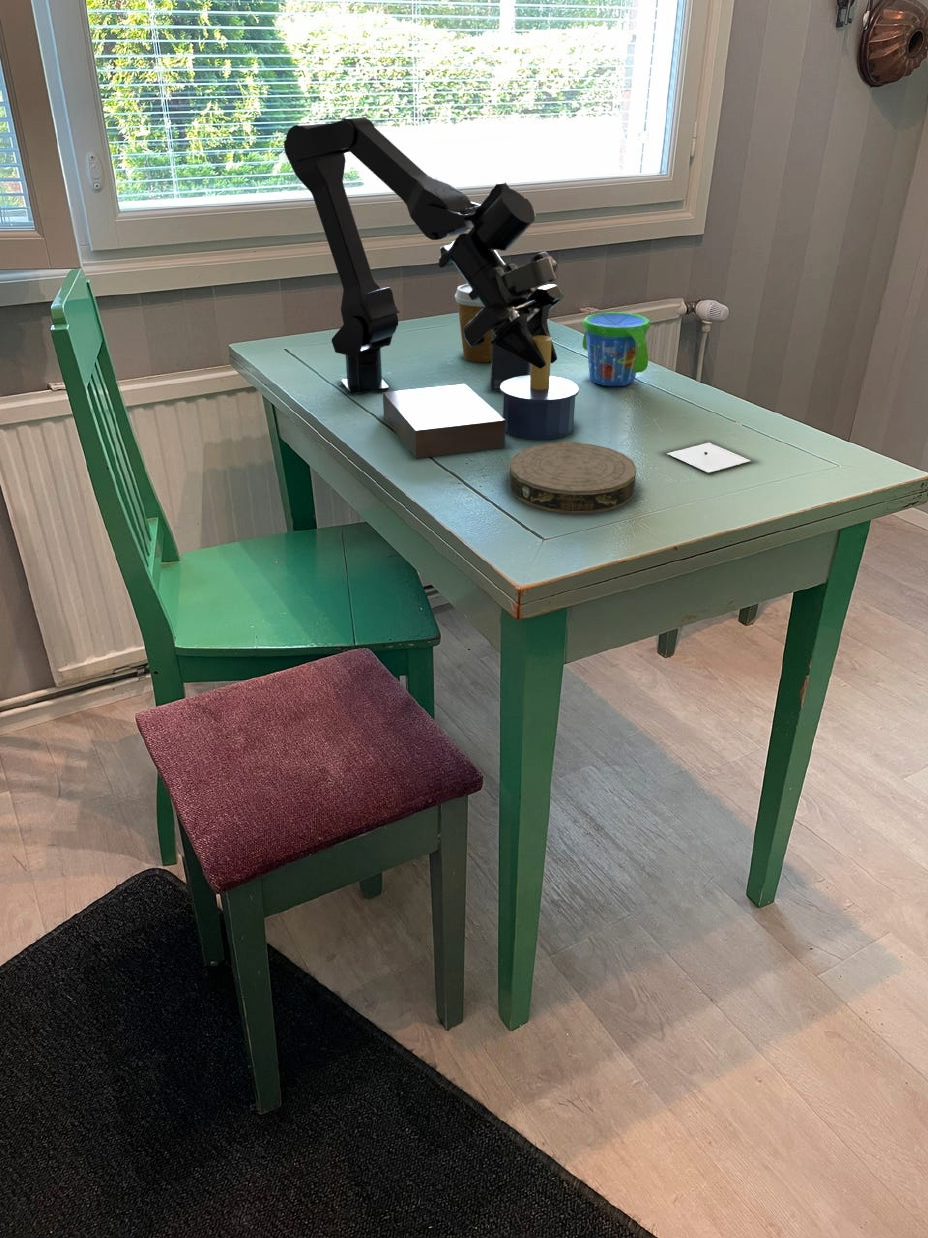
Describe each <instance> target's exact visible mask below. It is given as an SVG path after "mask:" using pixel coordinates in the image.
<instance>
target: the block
mask: <svg viewBox="0 0 928 1238" xmlns="http://www.w3.org/2000/svg"><path fill="white" fill-rule="evenodd" d="M382 404H383V405H382V409H383V419H384V420H385V421H386V423H387V425H389V427H390V428H391V429H392V431H394V433H395V434H396V435H397V436H398V438H399V439H400V441H401V442H402V443H403V444H404V445H405V447H406V448H407V449H408V450H409V452H410V453H411V454H412V456H414V458H415V459H422V458H423V459H424V458H431V457H432V458H433V457H440V456H447V455H455V454H462V453H463V454H464V453H471V452H480V451H488V450H495V449H502V448H503V449H504V448H506V431H505V428H506V420H505V419H504V418H503V415H500V413H498V412H497V411H496V410H495V409H494V408H493V407H491V405H490V404H489V403H488V402H486V401H485V400H484V399H482V398H481V397H480V395H479V394H477V393H476V392H475V391H474V390H472V389H471V388H470V387H469V386H468V385H467V384H466V383H460V384H451V385H442V386H441V385H440V386H432V387H422V388H412V389H402V390H401V389H400V390H393V391H384V392H382Z"/></svg>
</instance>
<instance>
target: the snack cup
mask: <svg viewBox="0 0 928 1238" xmlns="http://www.w3.org/2000/svg"><path fill="white" fill-rule="evenodd" d="M582 327H583V330H584V334H583V338H582V348H583V349H584V350H585V351H587V362H588V363H587V364H588V365H587V366H588V373H589V374H588V376H589V380H590V381H592V382H593V383H594V384H599V385H602V386H607V387H621V386H622V387H625V386H627V385H630V384H631V383H633V382H634V381H635V380H636V377H637V374H638V373H643V372H644V371H646V370H647V368H648V365H649V355H648V343H647V337H646V335H647V334H648V332H649V330H650V328H651V322H650V320H649V319H648V317H646V316H644V315H639V314H636V313H629V312H617V311H616V312H599V313H594V314H590V315H587V316H586V317H585V318H584V320H583V321H582Z"/></svg>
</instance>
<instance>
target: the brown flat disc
mask: <svg viewBox="0 0 928 1238" xmlns="http://www.w3.org/2000/svg"><path fill="white" fill-rule="evenodd" d="M508 475H509V477H508V480H509V481H508V486H509V490H510V493H511V494H512V495H513V496H514V497H515V498H516V499H517V500H518V501H520V502H522V503H524V504H526V505H528V506H530V507H533V508H536V509H540V510H542V511H548V512H550V513H551V512H552V513H561V514H569V515H576V514H577V515H581V514H582V515H583V514H584V515H585V514H586V515H587V514H596V513H603V512H608V511H612V510H614V509H616V508H619V507H622V506H625V505H626V503H628V502H630V501H631V500H632V499H633V497H634V493H635V487H636V479H637V466H636V464H635V463H634V461H633V459H631V458H630V457H629V456H627V455H625V454H624V453H622V452H620V451H617V450H616V449H612V448H610V447H606V446H601V445H597V444H592V443H585V442H584V443H583V442H573V441H569V442H567V441H565V442H550V443H543V444H535V445H533V446H530V447H527V448H524V449H522V450H520V451H519V452H517V453H515V454H514V455H513V456H512V457H511V460H510V461H509V474H508Z"/></svg>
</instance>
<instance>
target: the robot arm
mask: <svg viewBox="0 0 928 1238" xmlns="http://www.w3.org/2000/svg"><path fill="white" fill-rule="evenodd" d="M283 148H284V153H285V155H286V158H287V160H288V163H289V164H290V167H291V169H292V171H293V173H294V175H295V176H296V178H297V180H299V182H301V183H302V184H303V186H304V187H305V188H306V189H307V190H308V191H309V192H310V193H311V196H312V198H313V202H314V204H315V207H316V210H317V213H318V216H319V219H320V222H321V225H322V229H323V231H324V234H325V237H326V240H327V244H328V246H329V249H330V252H331V256H332V259H333V261H334V265H335V268H336V271H337V274H338V276H339V280H340V283H341V286H342V290H343V291H342V296H341V297H342V298H341V305H340V314H341V318H342V323H343V325H342V326H341V327H340V328H339V329H338V330H337V332H336V333H335V334H334V335H333V336H332V338H331V344H332V346H333V350H334V352H335V353H336V354H340V355H344V356H345V369H346V370H345V372H346V378H343V379H341V384H342V385H343V386H344V388H345V389H346V390H347V393H349V394H361V393H371V392H378V391H379V392H382V391H388V390H389V385H388V384H387V383H386V382H385V381H384V379H383V372H382V371H383V370H382V348H384V347H389V346H391V344H392V339H393V336H394V335H395V333H396V330H397V328H398V326H399V317H398V314H400V310H399V308H398V307H397V304H396V302H395V299H394V293H393V291H392V289H391V287H390V286H387V287H383V288H382V287H381V285H380V284H379V283H378V282H377V281H376V280H375V278H374V276H373V273H372V270H371V267H370V263H369V260H368V257H367V254H366V250H365V248H364V245H363V242H362V238H361V236H360V233H359V228H358V225H357V223H356V220H355V216H354V214H353V213H354V212H353V211H352V207H351V204H350V200H349V198H348V194H347V192H346V189H345V186H344V185H345V184H344V177H345V171H346V163H347V162H346V155H345V154H347V153H351V154H352V155H353V156H354V157H355V158H356V159H358V160H359V162H360V163H362V164H363V165H364V167H366V168H367V169H368V170H370V171H371V172H372V174H374V176H376V177H377V178H378V179H379V180H380V181H382V183H384V185H386V186H387V187H388V188H389V189H390V190H391V191H392V192H393V193H394V194H396V195H397V197H398V198H400V199H401V200H402V202H403V203H404V204H405V205H406V208H407V211H408V214H409V217H410V219H411V220H412V222H413V223H414V224H415V225H416V226H417V228H418V230H419V231H420V232H421V233H422V235H424V236H425V237H426V238H427V239H429V240H432V241H438V240H444V239H447V238H452V237H456V236H457V237H456V238H455V240H454V241H452V243H451V244H448V245H444V246H441V247H439V251H440V255H439V258H438V267H439V268H441V269H443V268H447V267H450V266H453V265H454V266H455V267H456V269H457V270H458V272H459V273H460V275H461V276H462V278H463V279H464V280H465V282H466V284H468V285H469V286H470V287H471V289H472V291H471V292H470V293H469V294H468V295H469V297H470V298H471V300H475V299H479V300H480V302H481V303H482V305H483V306H484V308H482V309H481V310H480V311H479V312H478V313H477V314H476V316H475V317H474V318H473V319H472V320H471V321H470V322H469V323H468V324H467V325H466V326H465V327H464V338H465V340H466V341H467V343H468V344H469V345H470V347H471V348H473V347H475V346H478V345H480V344H482V343H483V342H484V336H485V335H486V334H487V333H488V332H489V331H490V330H492V329H493V330H494V331H495V332H494V335H495V336H496V337H495V338H494V339H493V340H492V341H491V342H490V343H491V345H497V346H499V347H501V348H503V349H505V350H507V351H509V352H511V353H513V354H515V355H517V356H519V357H520V358H522V359H524V360H526V361H527V362H529V363H531V364H533V365H534V366H536V367H538V368H540V369H541V368H543V367H544V366H545V365H546V362H545V360H544V358H543V356H542V354H541V352H540V351H539V349H538V347H537V345H536V344H535V342H534V340H533V338H532V337H534V336H540V335H542V336H549V337H551V338H552V336H551V332H550V329H549V324H548V318H549V315H550V314H549V313H550V311H551V310H552V309H553V308H554V307H555V306H556V305H557V304H558V303H559V302H560V301H562V300H563V299H564V297H565V295H564V294H563V291H561V289H560V287H559V286H558V284H551V282H554V281H556V280H557V277H556V275H555V273H556V271H557V268H558V263H557V262H556V260H554V259H553V256H552V255H550V254H549V253H548V252H547V251H542V252H539V253H538V254H535V255H533V256H531V259H530V260H531V261H530V262H529V263H527V264H524V265H522V266H520V267H518V266H516V264H515V263H512V262H508V263H505V262H504V260H502V258H501V256H500V255H499V254H498V252H497V250H498V251H505V252H506V251H508V250H509V249H510V248H511V247H512V246H513V245H514V243H516V241H517V240H519V238H520V237H521V236H522V235H523V234H524V233H525V232H526V231H527V230H528V229H529V228H530V226H532V224H533V223H534V222H535V221H536V212H535V209H534V206H533V205H532V203H531V202H530V201H529V199H528V198H525V196H523V195H522V194H521V193H520V192H518V191H516V190H515V189H512V188H510V186H509V185H508V183H507V182H498V183H496V184H495V185H494V186H493V187H492V188H491V190H490V191H489V194H488V195H487V197H486V198H485V199H484V200H483V201H482V203H481V204H480V203H476V202H473V201H471V199H470V198H469V197H468V195H466V194H465V193H463V192H462V191H460V190H459V189H457V188H455V187H454V186H452V185H451V184H449V183H447V182H445V181H441V180H439V179H436V178H433V177H431V176H430V175H429V174H427V173H425V171H423V170H422V169H421V168H420V167H419V166H418V165H417V164H416V163H415V162H413V161H412V160H411V159H410V158H409V157H408V156H407V155H406V154H405V153H403V151H401V150H400V149H399V148H398V147H397V146H396V145H395V144H394V143H393V142H391V141H390V139H388V138H387V137H386V136H385V135H384V134H382V132H380V131H379V130H378V129H377V127H375V125H374V123H373V122H372V120H370V119H368V118H367V117H365V116H353V117H351V116H350V117H344V118H342V119H340V120H338V121H335V122H332V123H328V122H317V123H316V122H315V123H305V124H295V125H292V127H290V128H289V129H288V131H287V133H286V136H285V140H284V141H283ZM472 226H473V227H472ZM470 227H472V228H471V229H470ZM469 229H470V230H469ZM468 230H469V232H467V231H468ZM466 232H467V233H466ZM548 282H549V284H547V283H548ZM545 284H546V285H545ZM535 288H536V289H535ZM557 360H558V356H557V352H556V349H555V346H554V343H553V341H552V346H551V364H553V363H555V362H556V361H557Z"/></svg>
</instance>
